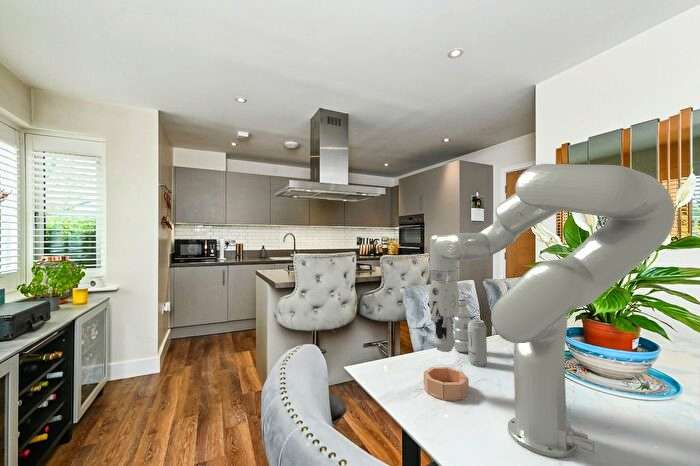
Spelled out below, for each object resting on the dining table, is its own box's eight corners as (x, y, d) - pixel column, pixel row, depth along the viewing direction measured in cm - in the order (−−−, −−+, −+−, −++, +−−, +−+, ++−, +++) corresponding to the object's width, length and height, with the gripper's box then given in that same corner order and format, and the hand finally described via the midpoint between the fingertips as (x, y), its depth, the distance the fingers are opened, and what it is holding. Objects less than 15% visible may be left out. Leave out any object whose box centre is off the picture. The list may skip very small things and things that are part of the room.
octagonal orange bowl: (474, 389, 87) (474, 374, 87) (456, 406, 78) (455, 389, 78) (437, 377, 95) (437, 363, 95) (416, 390, 87) (416, 375, 87)
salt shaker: (456, 353, 84) (455, 307, 84) (435, 352, 85) (434, 306, 85) (453, 346, 90) (452, 303, 90) (433, 345, 91) (432, 302, 91)
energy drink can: (465, 360, 108) (464, 319, 109) (482, 360, 109) (481, 318, 109) (473, 367, 102) (472, 323, 103) (490, 367, 103) (489, 323, 103)
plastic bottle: (474, 354, 114) (473, 301, 115) (457, 354, 114) (455, 302, 115) (468, 348, 121) (467, 298, 121) (451, 348, 121) (450, 298, 121)
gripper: (441, 280, 80) (442, 349, 79) (467, 275, 91) (468, 335, 91) (417, 277, 85) (418, 343, 84) (444, 273, 96) (445, 330, 96)
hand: (444, 338), depth 87 cm, fingers closed on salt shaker, 3 cm apart
